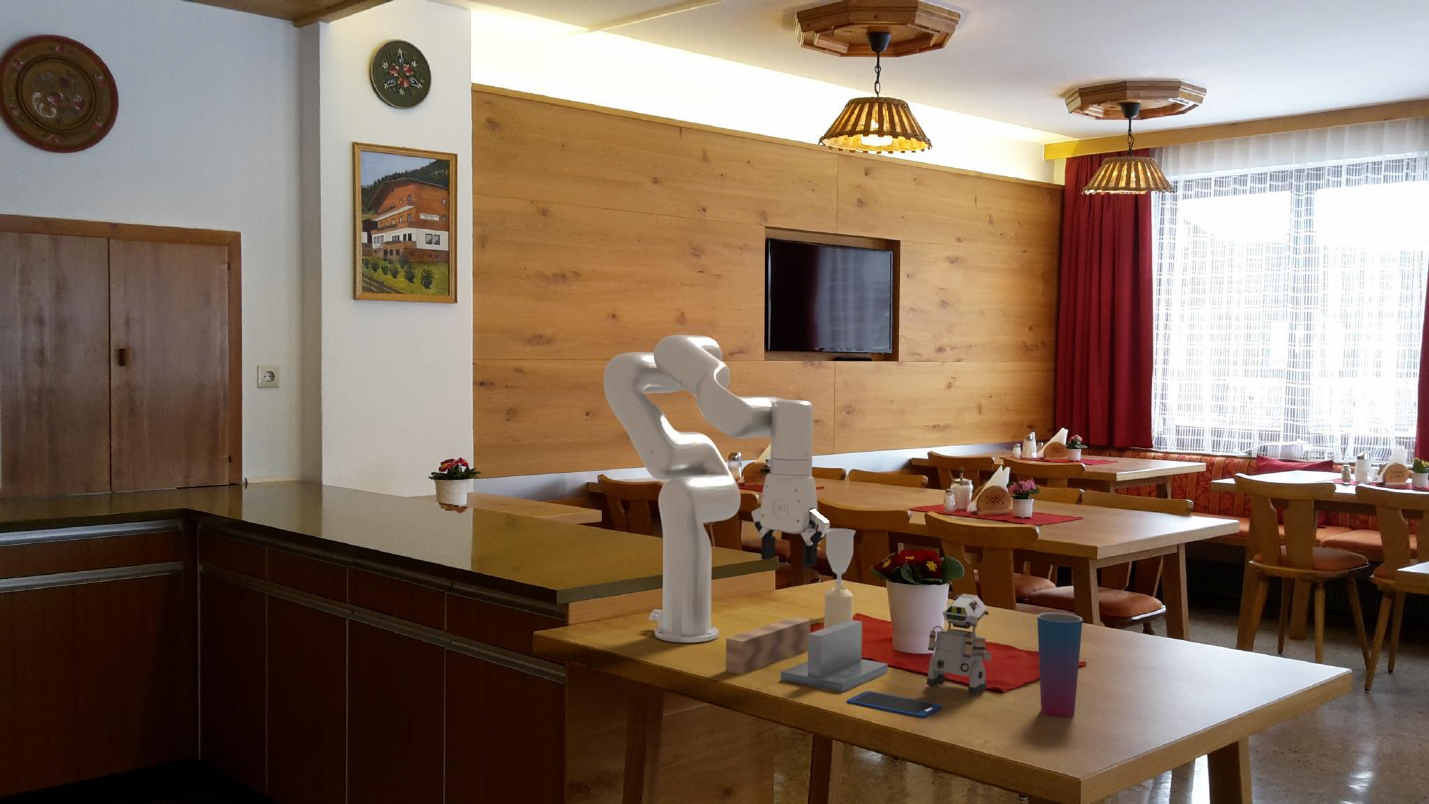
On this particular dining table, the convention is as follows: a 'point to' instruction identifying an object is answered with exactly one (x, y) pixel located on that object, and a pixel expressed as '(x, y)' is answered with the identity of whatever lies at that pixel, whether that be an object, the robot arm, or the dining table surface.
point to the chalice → (839, 550)
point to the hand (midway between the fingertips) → (788, 562)
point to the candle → (838, 606)
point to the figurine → (960, 645)
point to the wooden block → (767, 645)
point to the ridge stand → (835, 660)
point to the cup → (1058, 662)
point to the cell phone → (895, 704)
